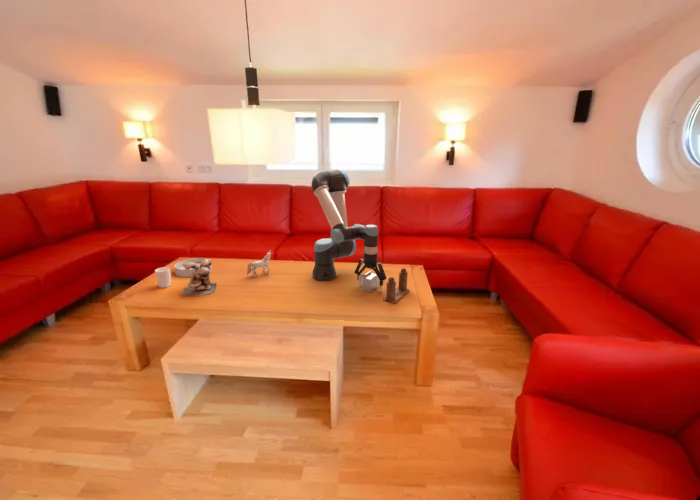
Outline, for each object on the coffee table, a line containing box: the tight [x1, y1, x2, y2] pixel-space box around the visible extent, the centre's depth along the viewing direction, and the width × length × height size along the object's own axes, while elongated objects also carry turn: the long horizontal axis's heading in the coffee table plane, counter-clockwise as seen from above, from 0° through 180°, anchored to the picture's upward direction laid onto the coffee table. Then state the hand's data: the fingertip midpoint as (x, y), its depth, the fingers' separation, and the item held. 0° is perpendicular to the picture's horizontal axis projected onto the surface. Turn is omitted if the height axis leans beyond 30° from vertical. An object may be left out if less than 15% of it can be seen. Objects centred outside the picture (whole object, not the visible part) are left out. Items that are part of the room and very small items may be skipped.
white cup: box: [154, 266, 172, 289], centre depth 209 cm, size 8×8×10 cm
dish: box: [174, 257, 213, 278], centre depth 232 cm, size 22×22×5 cm
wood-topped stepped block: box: [361, 270, 379, 293], centre depth 206 cm, size 5×9×9 cm, turn 148°
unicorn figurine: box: [246, 249, 273, 278], centre depth 225 cm, size 7×20×13 cm, turn 138°
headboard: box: [382, 267, 410, 304], centre depth 197 cm, size 7×19×14 cm, turn 148°
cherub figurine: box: [180, 258, 217, 297], centre depth 202 cm, size 18×18×18 cm
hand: (369, 287), depth 207 cm, fingers open, 12 cm apart
